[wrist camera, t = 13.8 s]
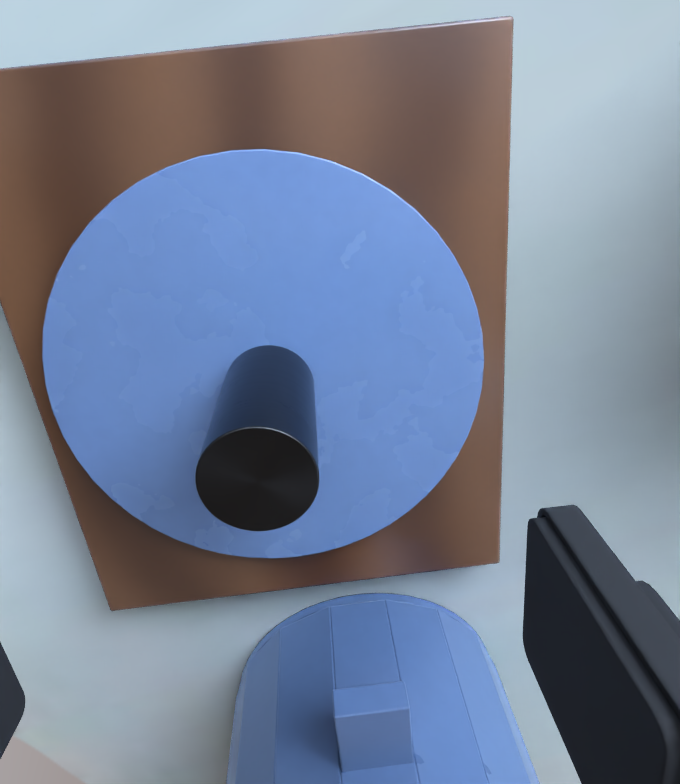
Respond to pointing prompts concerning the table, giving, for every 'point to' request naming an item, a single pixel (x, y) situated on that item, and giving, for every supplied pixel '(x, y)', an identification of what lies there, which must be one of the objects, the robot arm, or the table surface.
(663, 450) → the table surface
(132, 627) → the table surface
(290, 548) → the lid
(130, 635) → the table surface
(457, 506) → the board
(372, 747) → the pot
